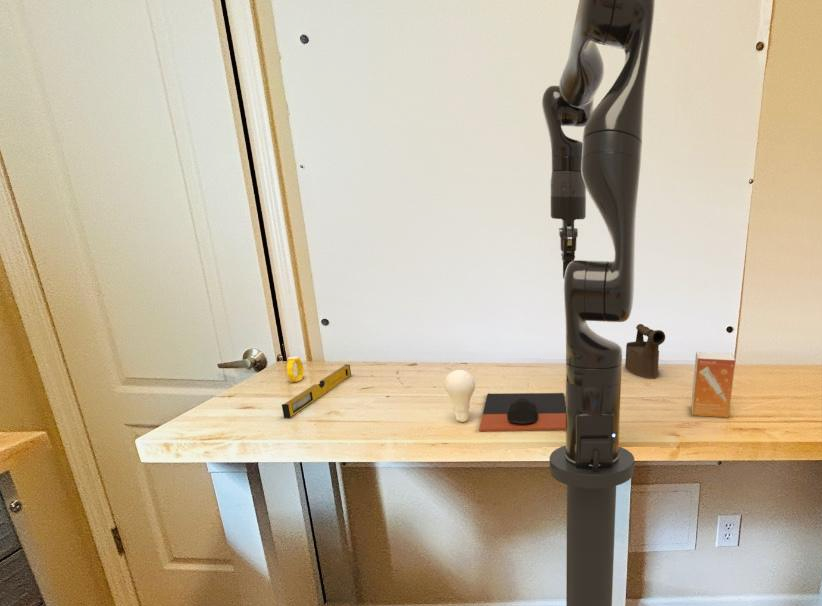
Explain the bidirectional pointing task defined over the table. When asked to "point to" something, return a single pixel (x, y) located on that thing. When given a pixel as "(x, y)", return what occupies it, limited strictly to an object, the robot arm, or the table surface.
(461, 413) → the lightbulb
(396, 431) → the table surface
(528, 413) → the gaming mouse
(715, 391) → the small box
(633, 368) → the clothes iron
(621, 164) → the robot arm
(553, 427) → the desk mat
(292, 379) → the yellow ring
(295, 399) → the spirit level
